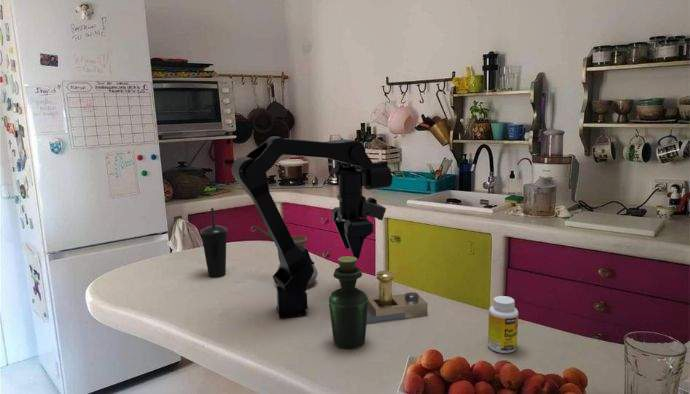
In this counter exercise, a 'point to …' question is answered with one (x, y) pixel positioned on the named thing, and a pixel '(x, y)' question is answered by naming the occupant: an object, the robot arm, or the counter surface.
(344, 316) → the potion bottle
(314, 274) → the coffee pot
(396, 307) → the knobbed window plate
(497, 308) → the supplement bottle
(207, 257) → the drinking cup
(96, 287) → the counter surface
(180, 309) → the counter surface
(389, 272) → the pin
